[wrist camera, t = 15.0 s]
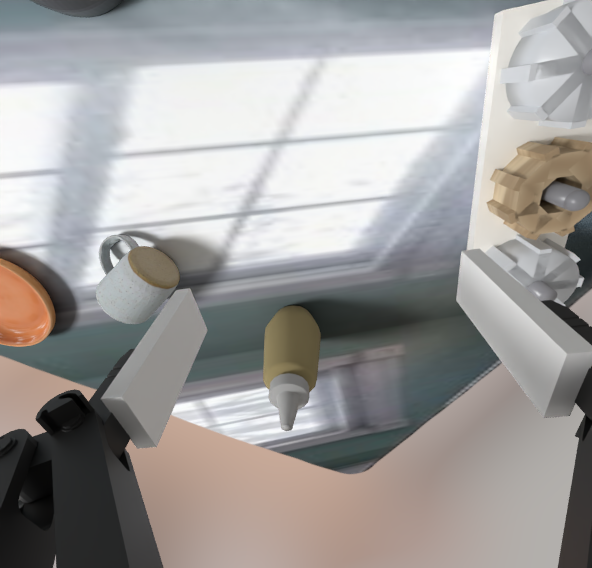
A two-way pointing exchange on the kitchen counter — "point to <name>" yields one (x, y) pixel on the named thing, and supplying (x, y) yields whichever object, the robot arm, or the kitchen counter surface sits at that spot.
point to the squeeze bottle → (291, 361)
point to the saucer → (23, 307)
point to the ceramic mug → (135, 281)
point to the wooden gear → (542, 186)
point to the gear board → (534, 132)
